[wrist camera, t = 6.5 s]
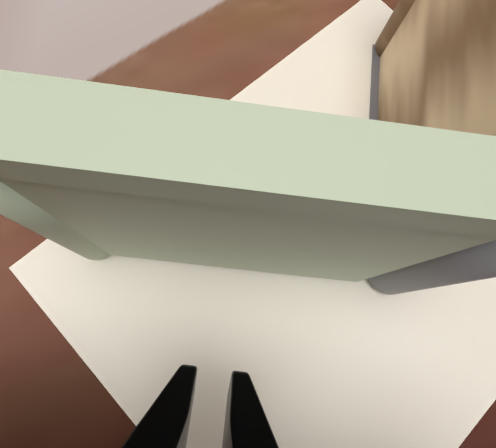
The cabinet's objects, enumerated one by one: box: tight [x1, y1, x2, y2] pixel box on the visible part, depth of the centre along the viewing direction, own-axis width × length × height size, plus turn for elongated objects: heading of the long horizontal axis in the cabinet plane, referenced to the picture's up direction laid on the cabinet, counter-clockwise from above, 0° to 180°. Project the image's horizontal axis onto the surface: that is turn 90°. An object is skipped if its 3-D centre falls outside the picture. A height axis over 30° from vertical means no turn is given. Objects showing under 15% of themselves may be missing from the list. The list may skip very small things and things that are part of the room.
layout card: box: [9, 0, 496, 448], centre depth 17 cm, size 18×23×1 cm
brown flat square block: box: [375, 0, 496, 136], centre depth 14 cm, size 12×2×11 cm, turn 173°
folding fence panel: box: [0, 69, 496, 295], centre depth 11 cm, size 14×2×10 cm, turn 84°
